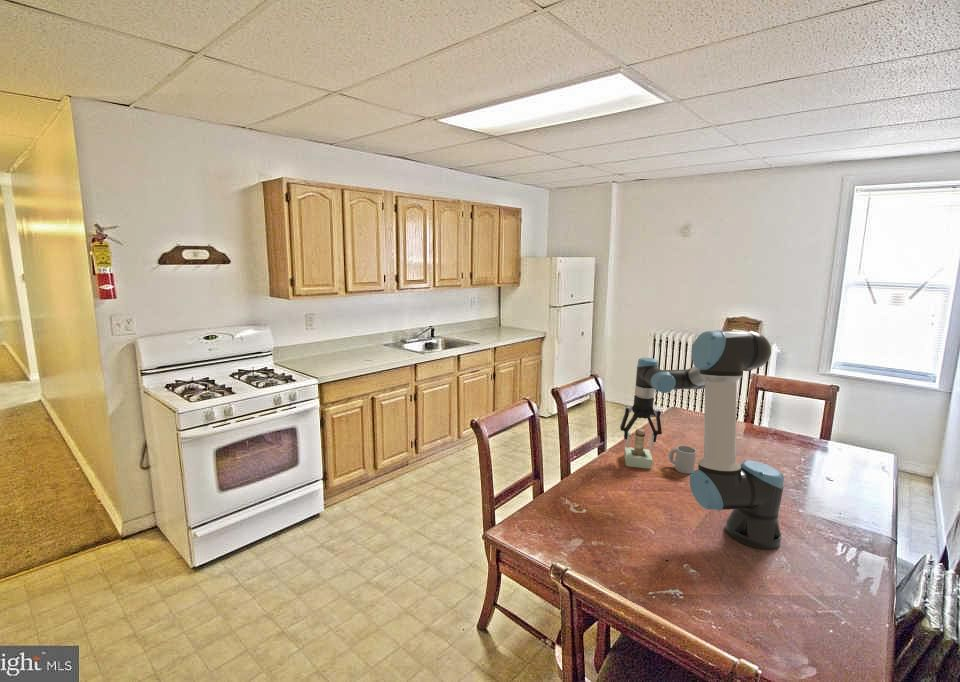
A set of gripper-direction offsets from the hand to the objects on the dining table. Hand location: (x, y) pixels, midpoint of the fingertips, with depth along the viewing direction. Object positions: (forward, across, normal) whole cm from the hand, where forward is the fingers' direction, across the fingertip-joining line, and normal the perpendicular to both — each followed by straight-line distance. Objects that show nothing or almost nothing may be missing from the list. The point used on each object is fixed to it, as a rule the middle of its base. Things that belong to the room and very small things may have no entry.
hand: (638, 447), depth 197 cm
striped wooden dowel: (+6, 0, 0) cm, 6 cm away
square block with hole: (+6, 0, 0) cm, 6 cm away
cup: (+7, -17, +2) cm, 18 cm away
